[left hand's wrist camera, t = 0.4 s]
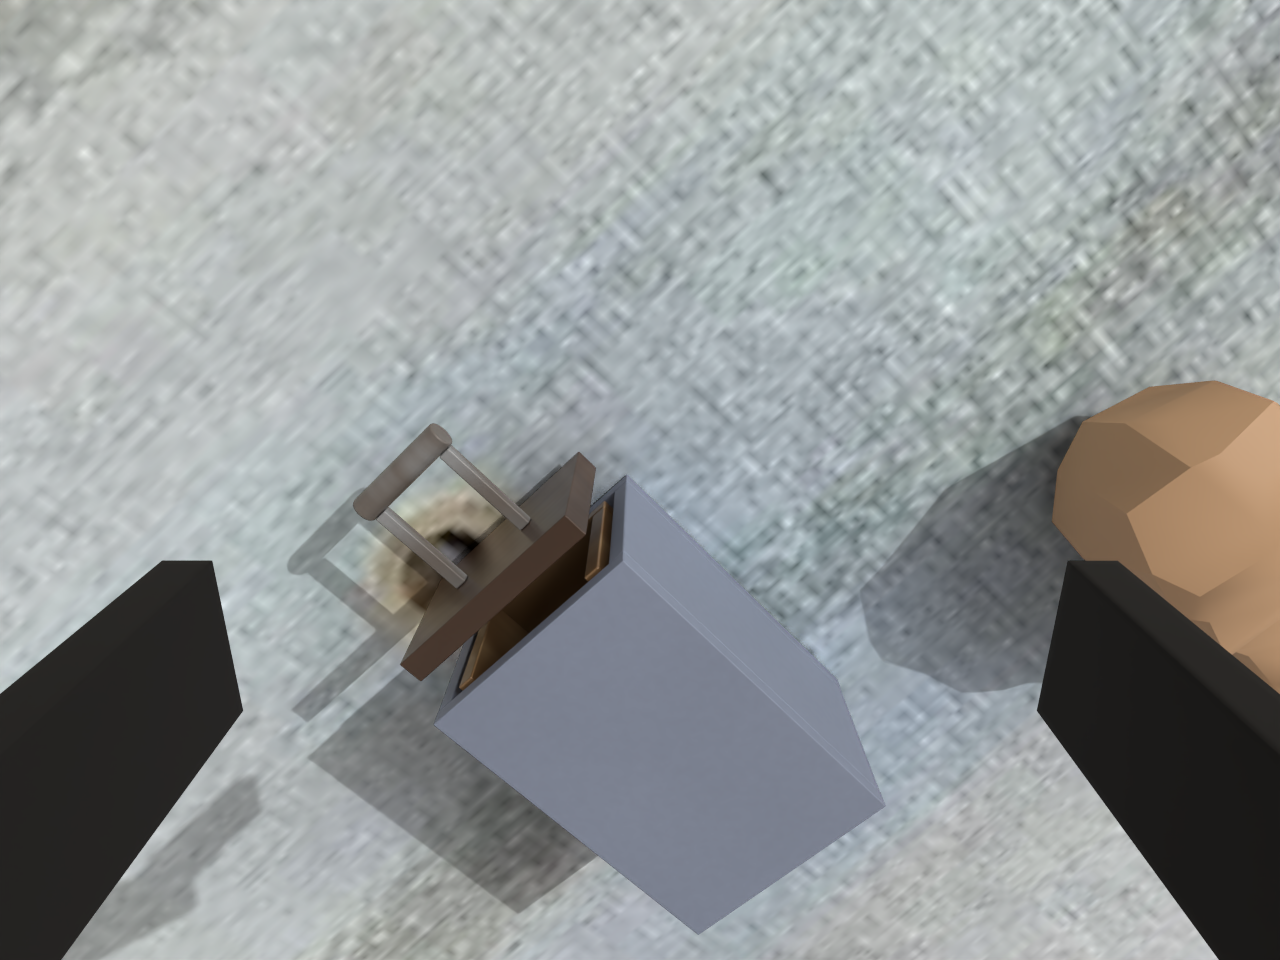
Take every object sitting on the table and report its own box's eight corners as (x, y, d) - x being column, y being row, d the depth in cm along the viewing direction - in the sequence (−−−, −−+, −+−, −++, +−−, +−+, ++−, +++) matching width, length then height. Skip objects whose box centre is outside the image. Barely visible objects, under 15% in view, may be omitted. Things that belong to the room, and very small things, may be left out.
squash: (1156, 311, 38) (1352, 345, 30) (1309, 566, 46) (1499, 650, 38) (983, 473, 39) (1126, 549, 31) (1162, 698, 47) (1315, 807, 39)
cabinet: (475, 610, 44) (432, 725, 35) (627, 474, 41) (623, 560, 32) (687, 791, 48) (698, 935, 39) (837, 679, 45) (886, 806, 36)
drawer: (349, 500, 41) (285, 573, 33) (487, 362, 38) (450, 408, 31) (649, 757, 46) (651, 868, 39) (786, 651, 44) (816, 748, 36)
